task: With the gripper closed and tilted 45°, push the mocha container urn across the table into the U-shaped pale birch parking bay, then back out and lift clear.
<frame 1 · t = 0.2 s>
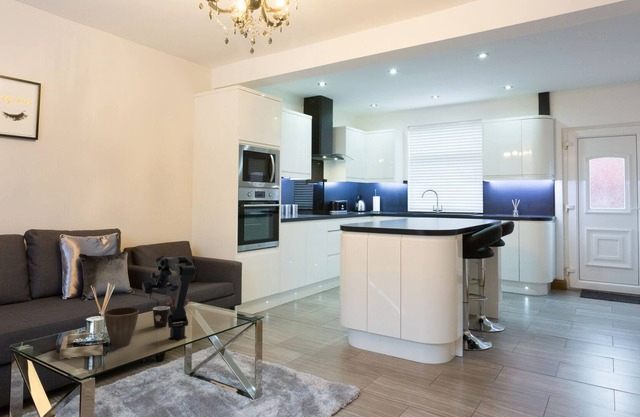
hand: (157, 297, 228), 15 cm above the table, tool tilted 35°, fingers open, 9 cm apart
parking bay: (90, 348, 186), on the table
plant pot: (120, 345, 192), on the table
coffee mug: (162, 327, 223), on the table
red grape bunch: (179, 310, 260), on the table
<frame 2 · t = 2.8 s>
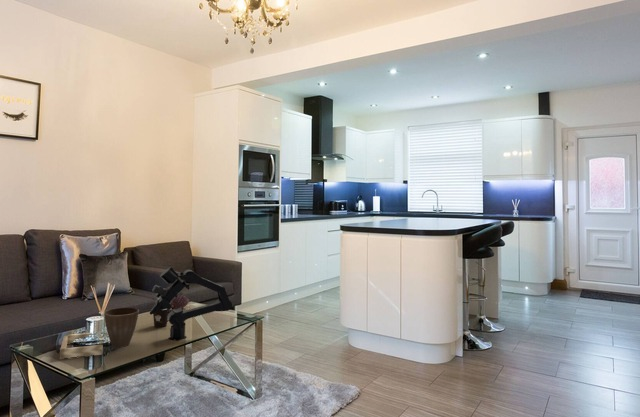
hand: (150, 313, 198), 14 cm above the table, tool tilted 45°, fingers closed
nothing on the table moved.
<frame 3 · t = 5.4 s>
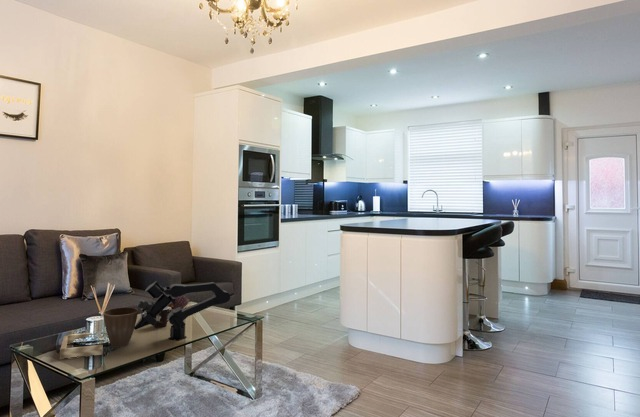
hand: (134, 329, 195), 7 cm above the table, tool tilted 45°, fingers closed
plant pot: (119, 345, 192), on the table, touching gripper
everything else where it was.
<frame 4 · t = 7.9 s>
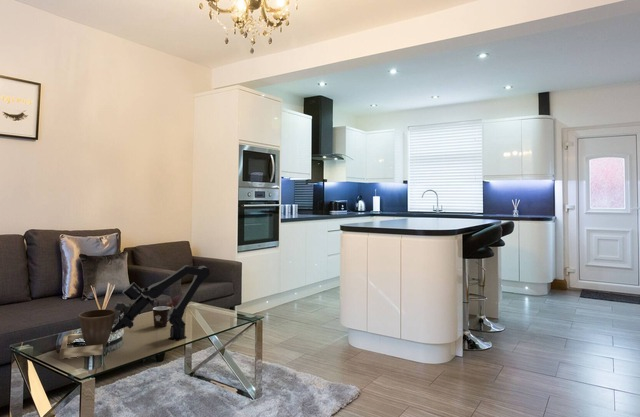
hand: (111, 331, 190), 7 cm above the table, tool tilted 45°, fingers closed, pressing on plant pot
plant pot: (96, 348, 187), on the table, touching gripper
everything else where it was.
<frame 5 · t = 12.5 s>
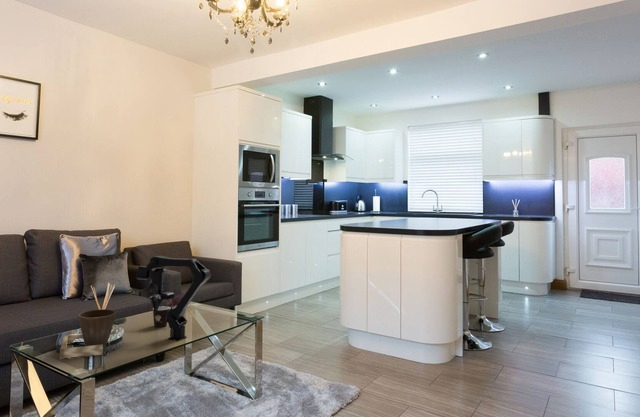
hand: (155, 311, 206), 13 cm above the table, tool pointing down, fingers closed
plant pot: (96, 348, 187), on the table
everything else where it was.
at the end: plant pot 2.5 cm from the parking bay (horizontally); plant pot tilted 0°; plant pot moved 10.1 cm from its start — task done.
